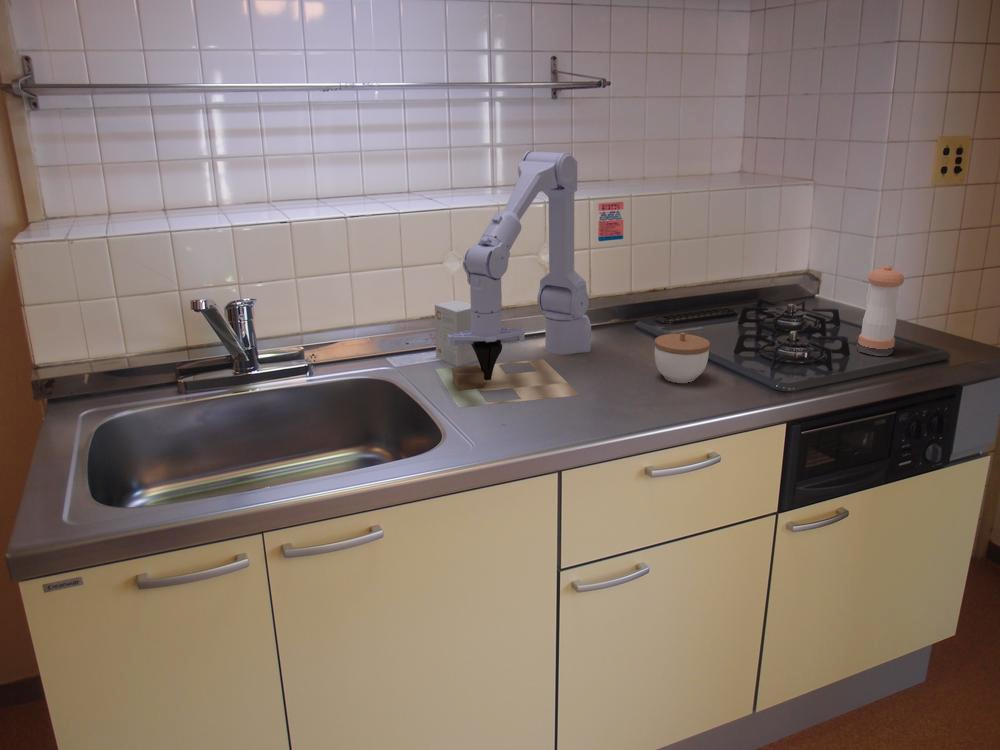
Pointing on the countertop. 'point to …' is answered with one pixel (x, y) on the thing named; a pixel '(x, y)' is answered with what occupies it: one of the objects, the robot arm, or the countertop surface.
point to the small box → (452, 321)
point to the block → (468, 377)
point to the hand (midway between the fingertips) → (486, 378)
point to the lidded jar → (681, 356)
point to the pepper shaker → (881, 309)
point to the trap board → (512, 385)
